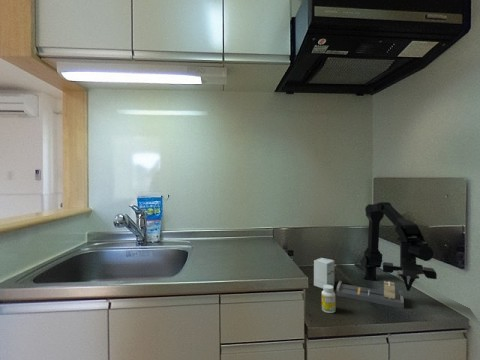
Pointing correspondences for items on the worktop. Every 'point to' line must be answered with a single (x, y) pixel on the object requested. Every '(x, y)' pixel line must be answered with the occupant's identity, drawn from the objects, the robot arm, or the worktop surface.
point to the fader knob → (389, 289)
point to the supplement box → (323, 272)
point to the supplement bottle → (328, 299)
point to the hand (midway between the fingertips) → (408, 290)
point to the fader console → (369, 295)
